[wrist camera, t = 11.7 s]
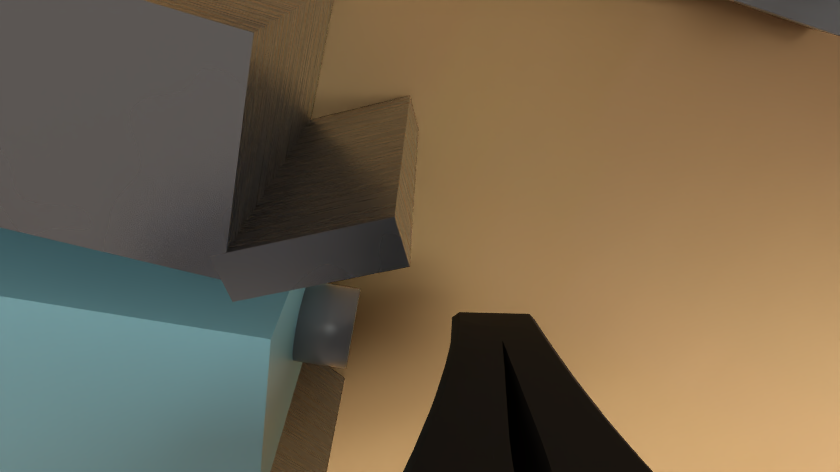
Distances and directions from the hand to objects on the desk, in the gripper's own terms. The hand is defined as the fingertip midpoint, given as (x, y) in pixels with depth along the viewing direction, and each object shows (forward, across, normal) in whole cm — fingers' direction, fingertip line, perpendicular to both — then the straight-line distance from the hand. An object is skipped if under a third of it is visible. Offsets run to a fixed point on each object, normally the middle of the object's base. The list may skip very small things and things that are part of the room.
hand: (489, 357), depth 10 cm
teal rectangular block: (+2, +6, -1) cm, 7 cm away
